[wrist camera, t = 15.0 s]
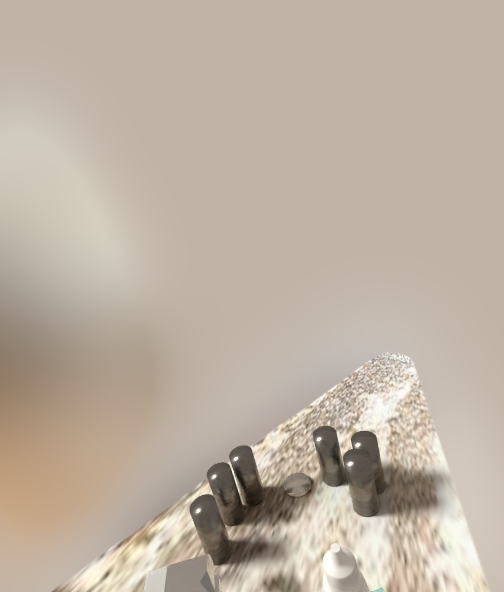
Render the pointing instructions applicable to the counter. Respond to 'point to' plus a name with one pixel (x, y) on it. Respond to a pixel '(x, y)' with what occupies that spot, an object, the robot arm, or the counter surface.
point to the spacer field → (226, 500)
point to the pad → (378, 590)
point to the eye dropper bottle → (342, 572)
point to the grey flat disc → (297, 485)
